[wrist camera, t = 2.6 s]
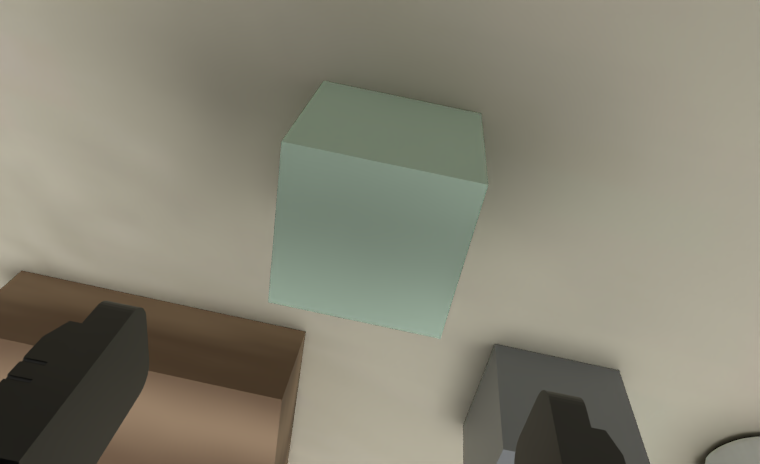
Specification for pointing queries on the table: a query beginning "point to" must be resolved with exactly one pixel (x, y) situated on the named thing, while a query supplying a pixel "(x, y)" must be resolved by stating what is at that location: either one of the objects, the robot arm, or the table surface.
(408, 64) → the table surface
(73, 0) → the table surface
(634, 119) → the table surface
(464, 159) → the sage cube
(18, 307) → the walnut block
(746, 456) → the photo printer
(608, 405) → the charcoal cube
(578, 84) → the table surface
